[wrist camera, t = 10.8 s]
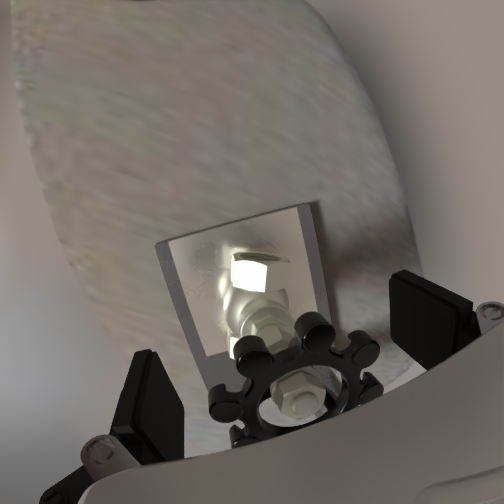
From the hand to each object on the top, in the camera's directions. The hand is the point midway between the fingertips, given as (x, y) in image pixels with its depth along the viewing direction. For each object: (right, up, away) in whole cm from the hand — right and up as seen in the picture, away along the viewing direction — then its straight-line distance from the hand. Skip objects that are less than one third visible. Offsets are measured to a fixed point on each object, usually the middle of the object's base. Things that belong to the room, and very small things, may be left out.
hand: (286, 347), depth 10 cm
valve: (-1, 0, +10) cm, 11 cm away
